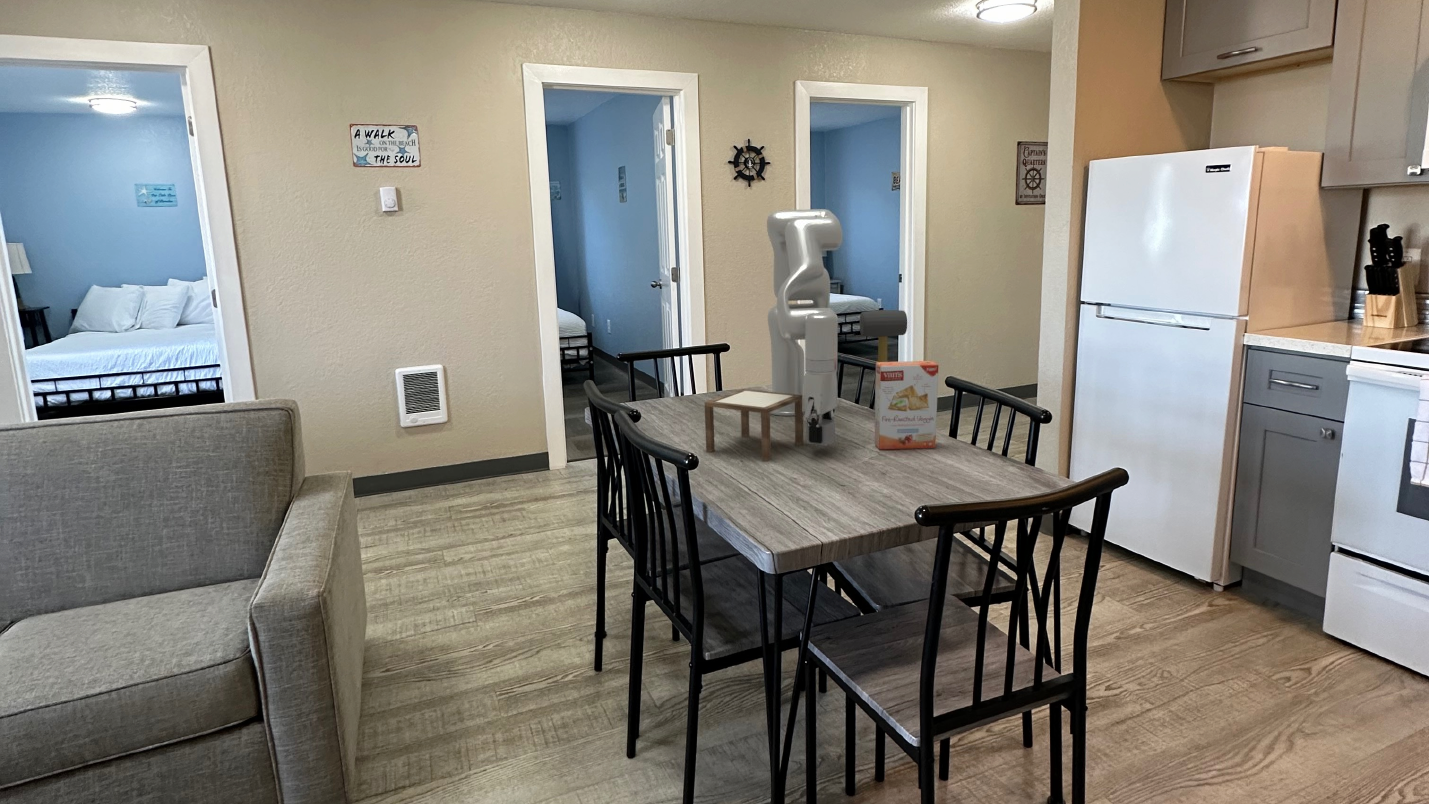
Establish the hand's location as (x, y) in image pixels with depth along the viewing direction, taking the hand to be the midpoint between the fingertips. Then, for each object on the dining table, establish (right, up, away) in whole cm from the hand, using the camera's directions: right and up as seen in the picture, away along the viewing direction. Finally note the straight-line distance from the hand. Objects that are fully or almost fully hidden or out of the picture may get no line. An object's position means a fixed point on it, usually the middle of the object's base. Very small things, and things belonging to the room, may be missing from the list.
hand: (821, 438), depth 195 cm
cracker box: (+21, -2, +4) cm, 21 cm away
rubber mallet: (+22, +5, +36) cm, 43 cm away
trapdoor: (-16, +9, +5) cm, 19 cm away
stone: (0, -1, 0) cm, 1 cm away
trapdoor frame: (-15, -2, +7) cm, 17 cm away
